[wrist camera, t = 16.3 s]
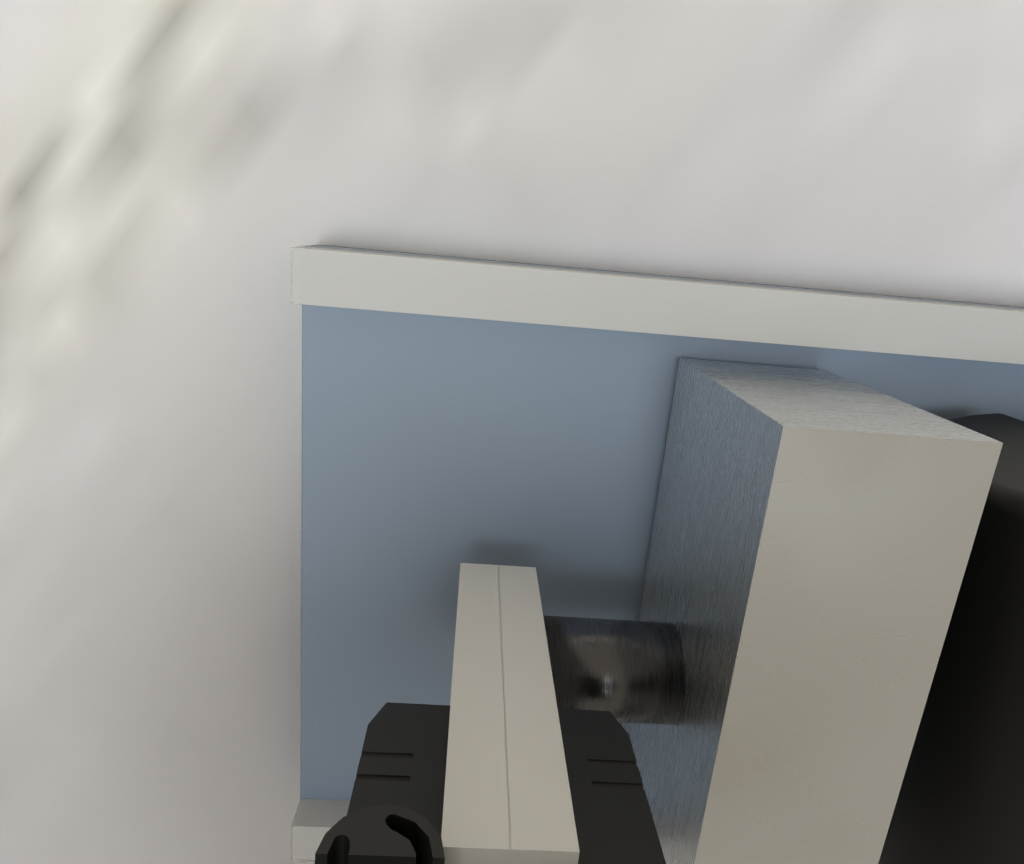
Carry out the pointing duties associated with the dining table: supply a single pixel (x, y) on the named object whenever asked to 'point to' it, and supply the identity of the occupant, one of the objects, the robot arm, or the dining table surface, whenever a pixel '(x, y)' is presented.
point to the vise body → (534, 445)
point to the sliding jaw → (784, 612)
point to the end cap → (975, 695)
